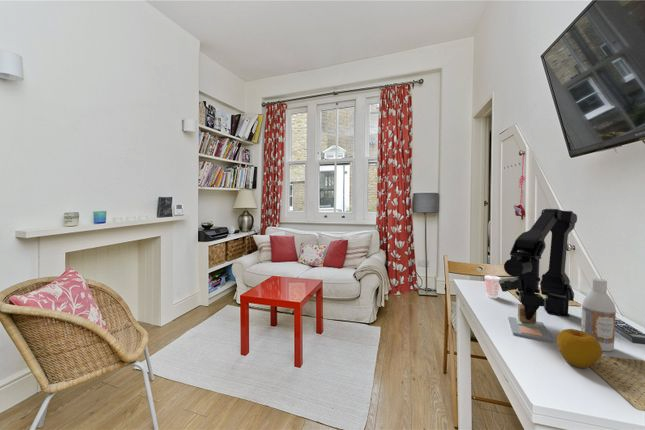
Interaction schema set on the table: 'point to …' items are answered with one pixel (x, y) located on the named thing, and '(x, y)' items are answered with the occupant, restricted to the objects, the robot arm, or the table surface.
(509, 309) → the table surface
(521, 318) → the walnut block
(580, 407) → the table surface
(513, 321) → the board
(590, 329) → the bath foam
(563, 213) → the robot arm
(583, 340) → the apple
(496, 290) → the beverage cup
